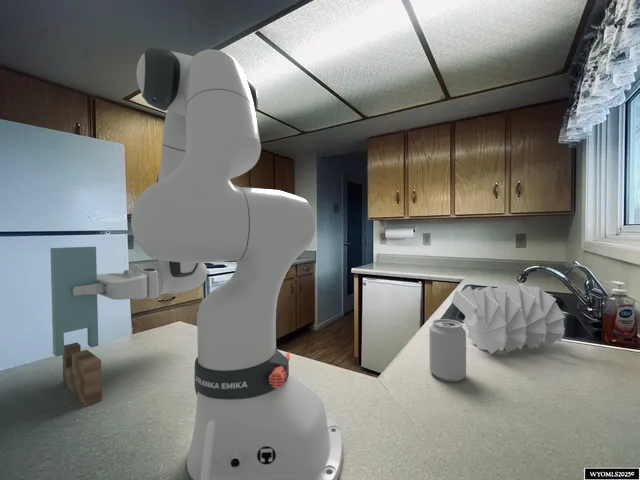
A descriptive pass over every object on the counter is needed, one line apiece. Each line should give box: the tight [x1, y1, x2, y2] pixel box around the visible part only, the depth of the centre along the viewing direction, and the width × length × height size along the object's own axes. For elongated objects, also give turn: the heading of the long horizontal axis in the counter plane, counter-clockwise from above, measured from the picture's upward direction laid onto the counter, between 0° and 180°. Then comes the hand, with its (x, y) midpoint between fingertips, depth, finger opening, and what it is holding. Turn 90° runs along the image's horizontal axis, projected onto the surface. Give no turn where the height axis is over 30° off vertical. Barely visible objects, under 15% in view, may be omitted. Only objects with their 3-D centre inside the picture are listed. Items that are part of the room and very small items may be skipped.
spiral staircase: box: [450, 282, 566, 355], centre depth 79 cm, size 18×18×25 cm
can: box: [428, 318, 467, 383], centre depth 64 cm, size 8×8×12 cm
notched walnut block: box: [62, 342, 103, 408], centre depth 59 cm, size 16×2×8 cm, turn 53°
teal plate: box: [50, 246, 99, 357], centre depth 61 cm, size 2×7×22 cm, turn 143°
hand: (69, 290), depth 60 cm, fingers closed on teal plate, 2 cm apart
